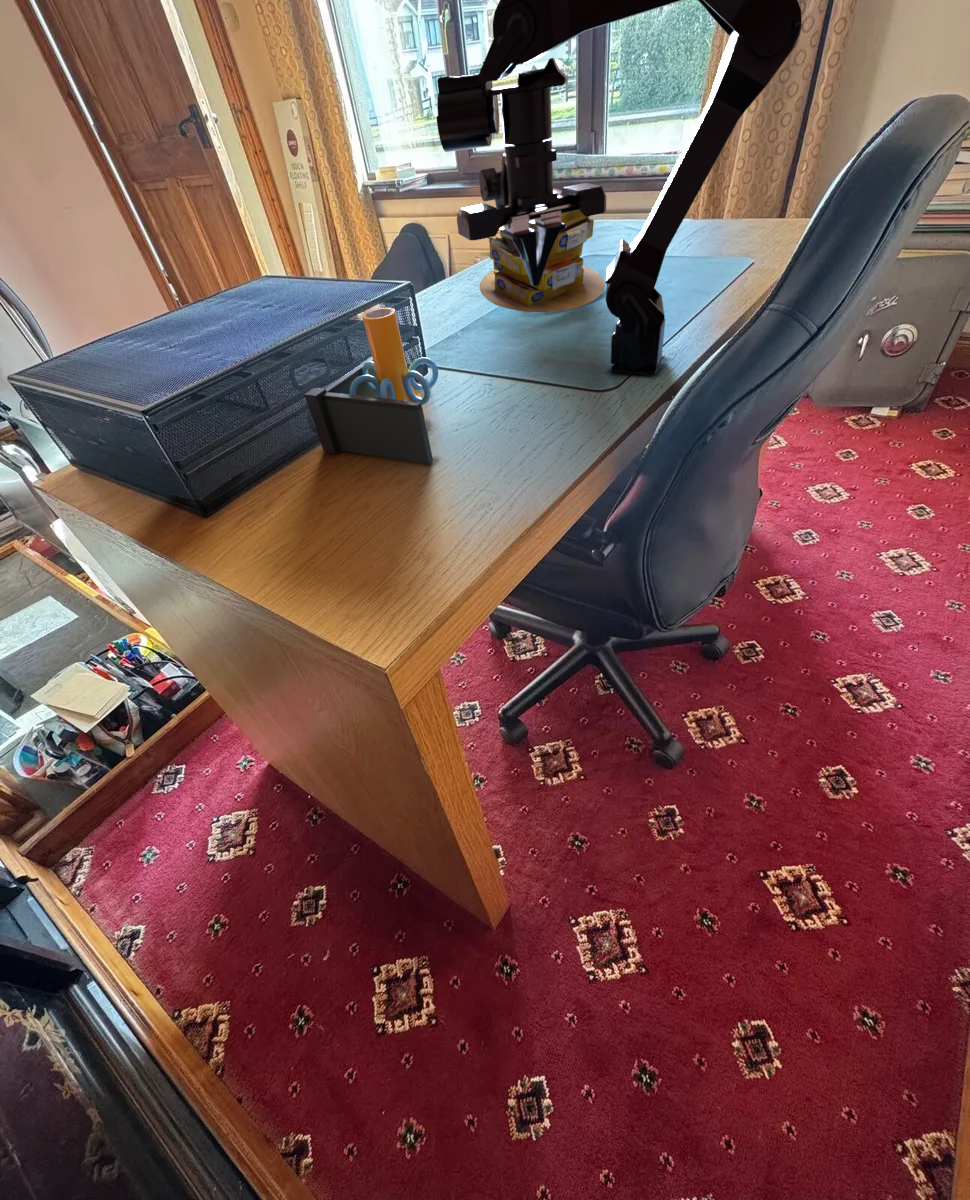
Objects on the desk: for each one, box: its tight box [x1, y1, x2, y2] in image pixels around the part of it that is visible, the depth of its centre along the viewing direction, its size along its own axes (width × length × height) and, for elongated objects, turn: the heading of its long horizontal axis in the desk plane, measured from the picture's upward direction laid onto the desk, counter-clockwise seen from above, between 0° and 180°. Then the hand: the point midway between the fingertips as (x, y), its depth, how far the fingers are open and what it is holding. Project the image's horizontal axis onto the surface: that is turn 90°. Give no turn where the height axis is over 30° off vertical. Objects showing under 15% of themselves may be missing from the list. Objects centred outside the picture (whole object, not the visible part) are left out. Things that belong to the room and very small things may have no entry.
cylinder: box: [350, 307, 439, 424], centre depth 72 cm, size 12×10×15 cm
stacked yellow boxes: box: [479, 187, 606, 313], centre depth 108 cm, size 25×25×17 cm
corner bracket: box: [303, 355, 434, 465], centre depth 75 cm, size 16×17×8 cm
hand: (535, 284), depth 78 cm, fingers closed
